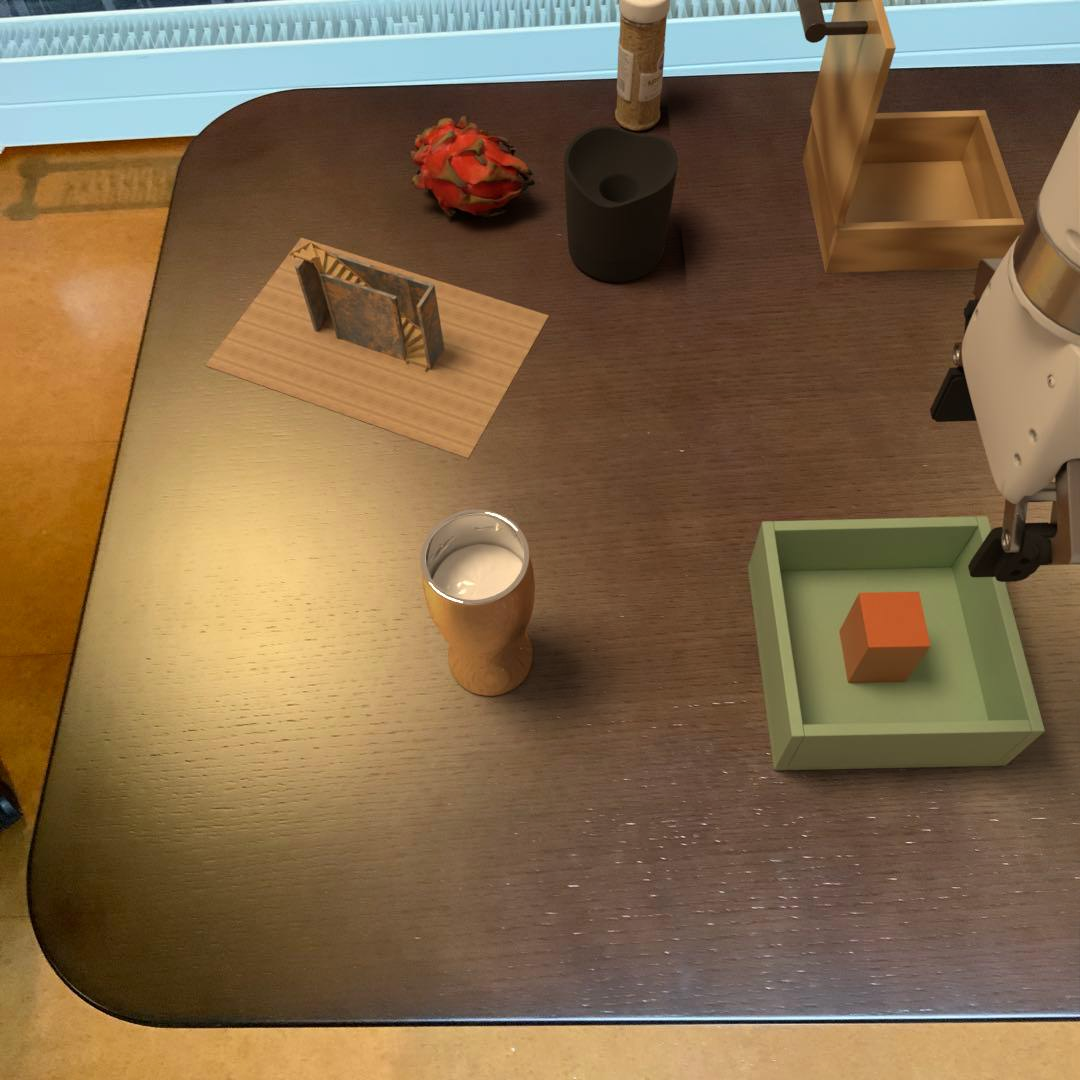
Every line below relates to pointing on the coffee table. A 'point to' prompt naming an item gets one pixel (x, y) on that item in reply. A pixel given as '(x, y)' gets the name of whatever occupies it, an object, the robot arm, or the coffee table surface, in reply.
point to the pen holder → (618, 201)
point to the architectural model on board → (381, 345)
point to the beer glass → (481, 598)
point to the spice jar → (640, 62)
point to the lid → (847, 87)
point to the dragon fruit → (468, 168)
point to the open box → (936, 682)
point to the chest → (919, 197)
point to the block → (884, 637)
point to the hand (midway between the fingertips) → (977, 490)
